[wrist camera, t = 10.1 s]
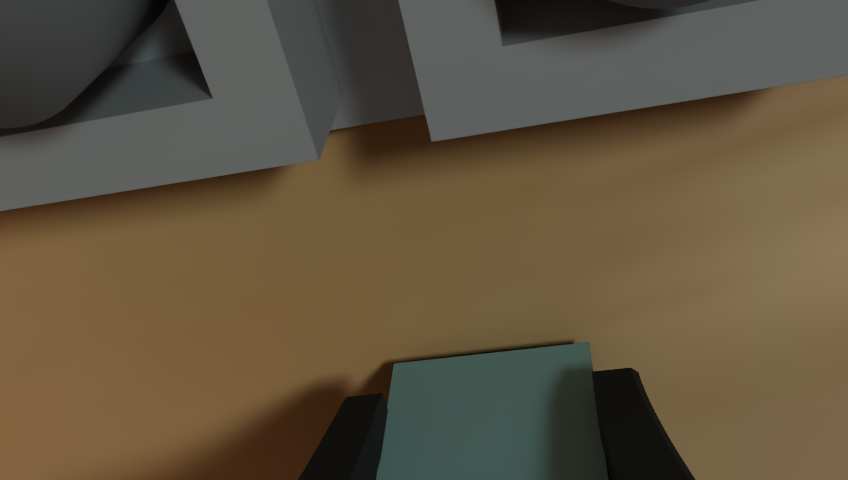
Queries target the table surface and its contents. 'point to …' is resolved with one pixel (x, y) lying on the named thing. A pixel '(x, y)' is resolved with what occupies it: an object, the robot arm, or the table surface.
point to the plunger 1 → (61, 50)
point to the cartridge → (494, 418)
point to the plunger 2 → (659, 3)
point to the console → (394, 79)
